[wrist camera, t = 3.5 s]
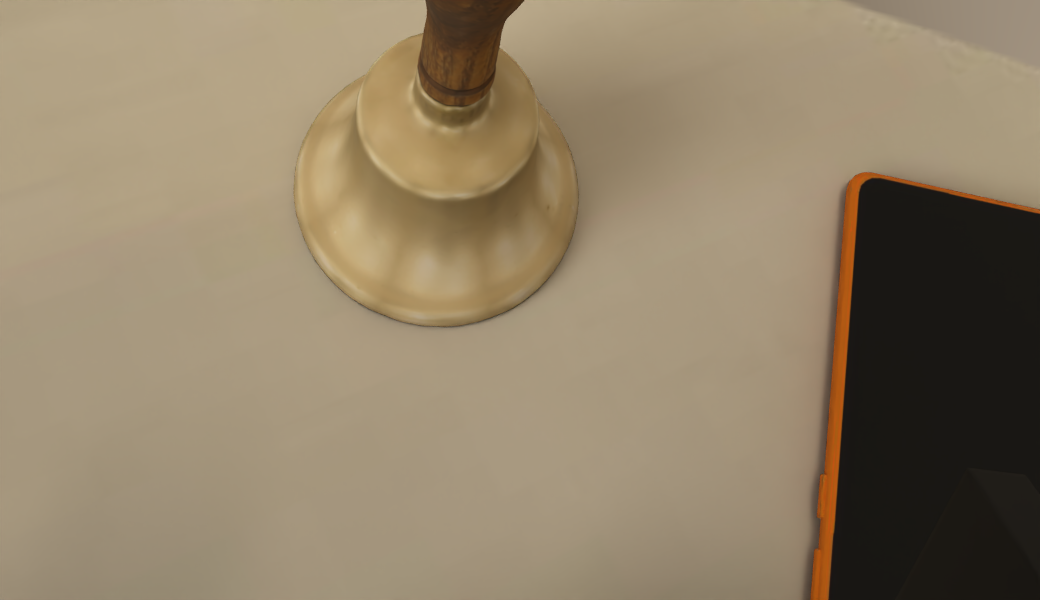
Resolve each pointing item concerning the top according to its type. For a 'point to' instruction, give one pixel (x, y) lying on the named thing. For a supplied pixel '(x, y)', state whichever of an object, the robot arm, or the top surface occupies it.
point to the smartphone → (923, 372)
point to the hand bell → (438, 176)
